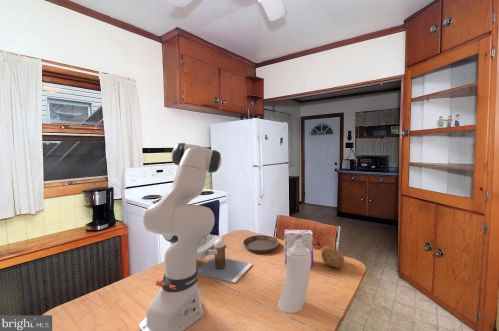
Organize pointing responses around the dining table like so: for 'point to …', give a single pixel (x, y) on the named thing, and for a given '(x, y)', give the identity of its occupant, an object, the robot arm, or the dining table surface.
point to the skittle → (220, 254)
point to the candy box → (299, 235)
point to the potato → (332, 257)
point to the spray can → (295, 278)
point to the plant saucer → (260, 243)
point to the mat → (225, 270)
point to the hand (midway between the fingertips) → (221, 249)
